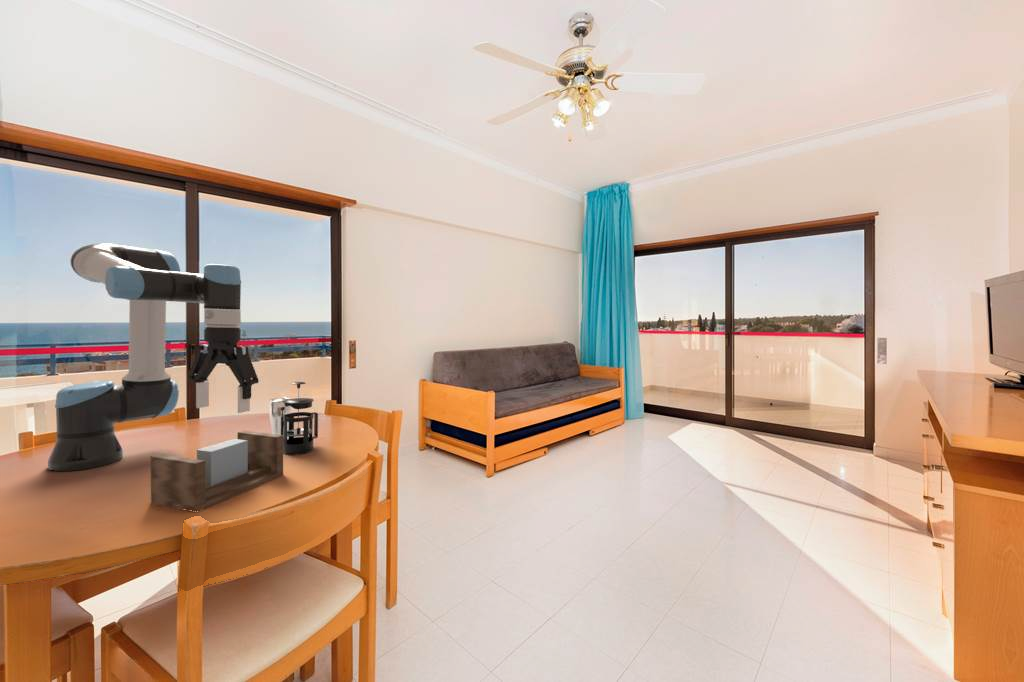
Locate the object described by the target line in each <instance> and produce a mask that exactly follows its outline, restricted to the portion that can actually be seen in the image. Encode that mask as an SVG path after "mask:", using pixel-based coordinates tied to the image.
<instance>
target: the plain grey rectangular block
mask: <svg viewBox="0 0 1024 682" xmlns="http://www.w3.org/2000/svg"><path fill="white" fill-rule="evenodd" d="M196 459H198V460H204V461H205V489H207V488H209V487H212V486H215V485H217V484H220V483H222V482H225V481H227V480H230V479H232V478H235V477H237V476H240V475H243V474H245V473H248V440H240V439H238V438H232V439H229V440H225V441H222V442H219V443H215V444H212V445H208V446H205V447H201V448H198V449H196Z"/></svg>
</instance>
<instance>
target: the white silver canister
mask: <svg viewBox="0 0 1024 682" xmlns="http://www.w3.org/2000/svg"><path fill="white" fill-rule="evenodd" d="M288 399H292V398H290V397H277V398H271V399H270V400H269V411H268V412H269V414H268V415H269V421H270V426H271V434H276V435H283V441H284V421H283V416H284V415H286V414H289V413H293V412H292V411H293V407H291V406H287V407H285V403H283V401H285V400H288ZM288 430H289V422H287V431H288ZM287 439H289V436H287Z"/></svg>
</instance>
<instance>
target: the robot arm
mask: <svg viewBox="0 0 1024 682" xmlns="http://www.w3.org/2000/svg"><path fill="white" fill-rule="evenodd" d="M70 266H71V268H72V270H73V272H75V273H76V275H78V276H79V277H80V278H82V279H84V280H86V281H89V282H92V283H97V284H98V283H101V284H104V285H105V286H104V287H105V290H106V292H107V294H108V296H109V297H111V298H112V299H113V298H114V299H121V300H127V301H129V312H128V313H129V321H128V322H129V323H128V324H129V325H128V330H129V331H128V336H129V337H128V372H127V373H126V374H125V375H124V376H122V377H121V384H115V383H114V382H113V381H112V380H99V381H89V382H83V383H79V384H78V383H77V384H73V385H70V386H66V387H64V388H61V389H60V390H58V391H57V392H56V397H55V405H54V408H55V412H56V413H55V414H56V419H55V420H56V424H55V425H56V442H55V444H54V446H53V448H52V451H51V452H50V455H49V458H48V460H47V469H48V470H49V469H50V470H49V471H51V470H54V472H72V471H81V470H87V469H93V468H98V467H102V466H105V465H110V464H112V463H115V462H117V461H120V460H121V459H122V458H123V457H124V456H123V455H124V453H123V450H124V449H123V447H122V445H121V444H120V442H119V440H118V437H117V435H116V433H115V424H118V423H125V422H133V421H138V420H145V419H146V420H147V419H155V418H158V417H165V416H168V415H170V414H171V413H172V412H173V411H174V410H175V408H176V407H177V403H178V401H179V392H180V390H179V389H178V388H179V386H178V384H177V382H176V380H173V379H171V377H172V376H171V374H169V373H168V372H166V370H165V369H166V368H165V367H166V329H167V328H166V323H167V322H166V321H167V320H166V319H167V317H166V316H167V314H166V313H167V309H166V308H167V302H176V303H177V302H178V303H194V304H201V305H203V309H204V313H203V315H204V317H203V318H204V320H203V321H204V325H205V326H207V327H204V329H203V331H204V332H203V337H204V338H203V341H204V342H206V343H204V344H197V347H196V348H197V350H196V354H195V357H194V360H193V362H192V365H191V368H190V370H189V373H188V376H187V379H188V380H192V381H193V383H194V390H195V391H194V394H195V398H196V399H195V402H196V403H195V407H196V409H202V408H208V407H209V406H210V399H209V398H210V394H209V393H210V391H209V389H210V387H209V386H210V382H209V379H208V378H209V376H210V375H211V374H212V372H213V371H214V370H215V368H216V366H217V364H225V366H228V367H229V369H230V370H231V373H232V374H233V375H234V377H235V378H236V380H237V382H238V383H239V385H238V386H237V413H238V414H242V413H246V412H249V411H250V409H251V407H250V406H251V400H250V399H252V386H253V385H254V384H255V385H256V384H259V381H260V380H259V378H258V374H257V373H256V370H255V367H254V364H253V363H252V362H253V361H252V359H251V357H250V355H249V354H250V352H249V347H248V346H245V345H244V346H238V342H240V341H241V331H242V330H241V328H240V327H239V326H240V325H242V324H241V323H242V320H241V316H242V315H241V312H242V311H241V294H242V293H241V290H242V285H241V284H242V280H241V270H240V269H239V268H238V267H237V266H234V265H228V264H219V263H217V264H216V263H209V264H208V263H207V264H206V265H204V268H203V273H202V274H201V273H193V272H192V273H191V272H183V271H181V267H180V265H179V262H178V260H177V258H176V257H175V255H174V254H172V253H171V252H168V251H165V250H164V251H163V250H159V249H153V248H152V249H151V248H144V247H135V246H129V245H128V246H127V245H120V244H119V245H118V244H114V243H92V244H89V245H88V244H87V245H85V246H82V247H79V248H78V249H76V250H75V251H74V252H73V253H72V255H71V257H70ZM109 463H110V464H109Z"/></svg>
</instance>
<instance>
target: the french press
mask: <svg viewBox="0 0 1024 682" xmlns="http://www.w3.org/2000/svg"><path fill="white" fill-rule="evenodd" d="M305 384H306V382H305V381H295V382H292V383H291V385H294V386H295V385H296V388H297V397H296V398H291V399H288V400H285V401H283V403H285V407H287V406H291V407H292V409H294V410H297V412H292V413H289V414H286V415H284V416H283V421H284V441H283V453H284V454H283V455H287V454H288V456H296V455H295V454H298V455H303V454H302V453H304V454H307V453H306V452H308V453H310V452H309V451H311V450H313V449H315V447H314V440H315V439H317V438H318V436H319V424H318V423H319V414H318V412H315V411H314V412H309V411H300V410H305V409H309V408H311V407H313V402H314V401H315V400H314V398H311V397H309V398H308V397H300V389H301V385H305ZM313 421H314V422H313ZM287 422H289V430H288V431H287ZM301 422H303V423H302V424H303V425H302V427H301V428H300V423H301ZM295 423H297V428H295ZM313 429H314V430H313ZM287 436H289V439H287ZM313 451H314V450H313ZM311 452H312V451H311Z"/></svg>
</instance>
